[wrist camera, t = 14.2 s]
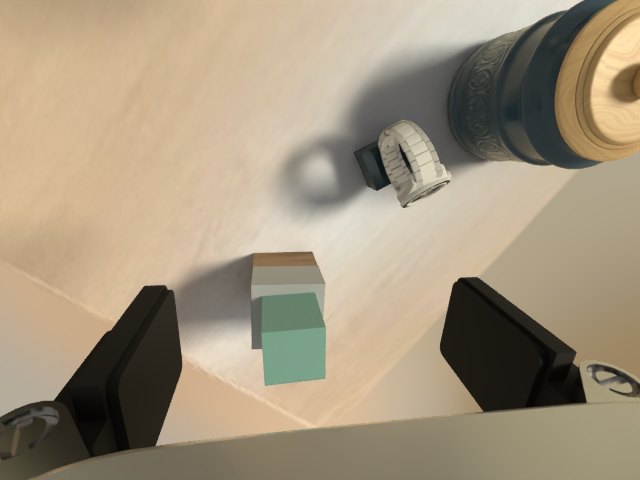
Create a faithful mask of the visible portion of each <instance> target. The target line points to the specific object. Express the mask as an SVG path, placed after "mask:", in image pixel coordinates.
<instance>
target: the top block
mask: <svg viewBox="0 0 640 480" xmlns="http://www.w3.org/2000/svg"><path fill="white" fill-rule="evenodd" d="M309 292H315V294H316V298H317V301H318V304H319V307H320V311H321V314H322V317H323V312H324V297H325V282H324V279H323V277H322V274H321V272H320V269H319V266H256V267H253V271H252V281H251V322H252V349H262V336H261V326H262V296H269V295H283V294H296V293H309Z"/></svg>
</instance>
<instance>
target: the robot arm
mask: <svg viewBox="0 0 640 480" xmlns="http://www.w3.org/2000/svg"><path fill="white" fill-rule="evenodd" d="M440 351H441V354H442V356H443V357H444V358H445V360H446V361H447V363H448V364H449V365H450V367H451V368H452V369H453V371H454V372H455V373H456V374H457V376H458V377H459V379H460V380H461V382H462V383H463V384H464V385H465V387H466V388H467V390H468V391H469V392H470V394H471V395H472V397H473V398H474V399H475V401H476V402H477V403H478V405H479V406H480V407H481V409H482V410H483V412H475V413H464V414H454V415H443V416H433V417H422V418H413V419H402V420H391V421H382V422H371V423H361V424H351V425H341V426H331V427H321V428H312V429H302V430H293V431H283V432H275V433H265V434H254V435H245V436H235V437H226V438H217V439H207V440H198V441H188V442H182V443H174V444H167V445H160V446H156V443H157V440H158V437H159V434H160V432H161V429H162V426H163V423H164V420H165V417H166V414H167V412H168V409H169V406H170V403H171V400H172V397H173V394H174V391H175V388H176V385H177V383H178V380H179V377H180V373H181V370H182V355H181V347H180V338H179V330H178V322H177V314H176V306H175V298H174V292H173V290H168V289H167V287H166V286H165V285H157V286H144V287H143V288H142V290H141V291H140V292H139V294H138V295H137V296H136V298H135V299H134V300H133V302H132V303H131V304H130V306H129V307H128V308H127V310H126V311H125V312H124V314H123V315H122V316H121V318H120V319H119V320H118V322H117V323H116V324H115V326H114V327H113V328H112V330H111V331H108V332H106V334H104V336H103V337H102V338H101V339H100V341H99V342H98V343H97V345H96V346H95V347H94V349H93V350H92V351H91V353H90V354H89V355H88V356H87V358H86V359H85V361H84V362H83V363H82V364H81V366H80V367H79V368H78V369H77V371H76V372H75V373H74V375H73V376H72V378H71V379H70V380H69V381H68V383H67V384H66V385H65V386H64V388H63V389H62V390H61V392H60V393H59V394H58V396H57V397H56V398H55V400H54V401H40V402H35V403H31V404H28V405H25V406H22V407H20V408H17V409H15V410H13V411H11V412H9V413H7V414H5V415H3V416H1V417H0V480H640V379H639V378H637V377H636V376H634V375H633V374H631V373H630V372H627V371H626V370H623V369H621V368H620V367H617V366H614V365H612V364H609V363H605V362H601V361H595V360H587V361H583V362H582V363H580V365H579V367H577V366H576V365H574V364H573V360H574V358H575V355H576V351H574V350H573V349H572V348H570V347H569V346H568V345H567V344H565V343H564V342H562V341H561V340H560V339H558V338H557V337H556V336H555V335H553V334H552V333H551V332H549V331H548V330H547V329H545V328H544V327H543V326H541V325H540V324H539V323H537V322H536V321H535V320H533V319H532V318H531V317H529V316H528V315H527V314H526V313H524V312H523V311H522V310H520V309H519V308H517V307H516V306H515V305H514V304H512V303H511V302H509V301H508V300H507V299H506V298H504V297H503V296H502V295H500V294H499V293H498V292H496V291H495V290H494V289H492V288H491V287H490V286H489V285H487V284H486V283H484V282H483V281H482V280H481V279H479V278H477V277H467V278H459V279H458V281H457V282H455V283H454V284H453V287H452V292H451V296H450V301H449V306H448V310H447V315H446V319H445V324H444V329H443V334H442V338H441V342H440Z"/></svg>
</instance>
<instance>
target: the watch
mask: <svg viewBox="0 0 640 480" xmlns="http://www.w3.org/2000/svg"><path fill="white" fill-rule="evenodd" d="M426 150H427V151H426ZM424 151H425V152H424ZM422 152H423V153H422ZM420 153H421V154H420ZM354 154H355V156H356V159H357V161H358V164H359V166H360V168H361V171H362V173H363V175H364V178H365V180H366V183H367V185H368V187H370V188H372V189H374V190H376V191H377V190H379V189H381V188H383V187H385V186H387V185H389V184H391V183H392V185H393V187H394V189H395V190H396V191H397V193H398V194H397V198H398V200H399V202H400V203H401V207H402V208H405V207H409V206H411V205H414V204H416V203H418V202H420V201H422V200H424V199H426V198H428V197H429V196H431V195H433V194H434V193H436V192H437V191H439V190H440V189H442V188H443V187H444V186H446V185H447V184H448V183H449V182H450V180H451V179H450V178H451V174H450V172H449V171H446V170H445V167H444V165H443V164H440V161H439V158H438V155H437V153H436V151H435V148H434V147H433V145H432V143H431V142H430V141H429V138H428V137H427V135H426V134H425V133H424V132H423V131H422V130H421V129H420V128H419V127H418V126H417V125H416V124H415V123H413V122H411V121H409V120H407V121H406V120H402V121H400V122H398V123H396V124H394V125H392V126H390V127H388V128H386V129H384V130H383V131H382V133H381V134H380V137H379V140H377V141H375V142H373V143H371V144H369V145H368V146H366V147H364V148H362V149H360V150H358V151H356V152H354ZM418 154H419V155H418ZM413 172H414V173H413ZM411 173H413V174H414V177H413V176H412V175H411ZM414 178H415V179H414Z"/></svg>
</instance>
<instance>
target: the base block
mask: <svg viewBox="0 0 640 480" xmlns="http://www.w3.org/2000/svg"><path fill="white" fill-rule="evenodd" d="M256 266H317V263H316V260H315V258H314V255H313V253H312V252H279V253H254V254H253V264H252V271H253V267H256Z"/></svg>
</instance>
